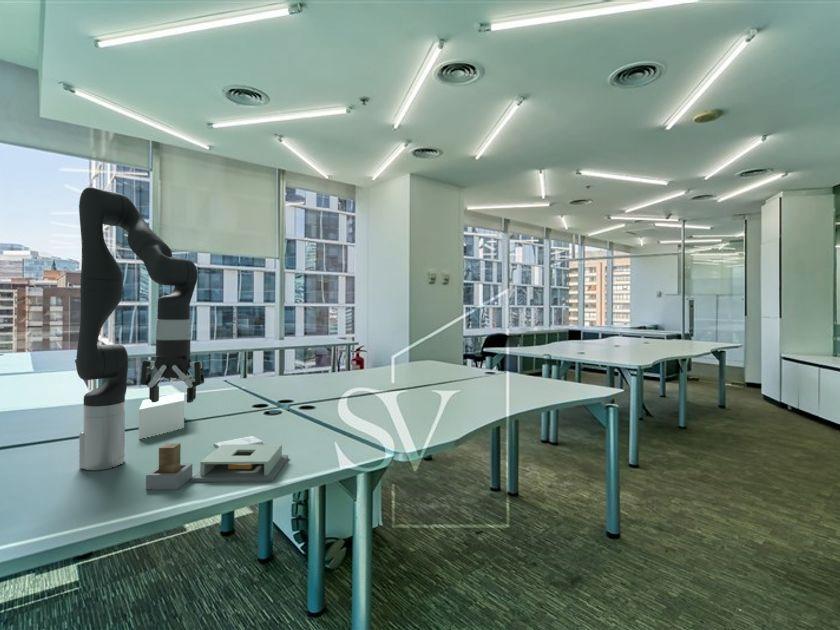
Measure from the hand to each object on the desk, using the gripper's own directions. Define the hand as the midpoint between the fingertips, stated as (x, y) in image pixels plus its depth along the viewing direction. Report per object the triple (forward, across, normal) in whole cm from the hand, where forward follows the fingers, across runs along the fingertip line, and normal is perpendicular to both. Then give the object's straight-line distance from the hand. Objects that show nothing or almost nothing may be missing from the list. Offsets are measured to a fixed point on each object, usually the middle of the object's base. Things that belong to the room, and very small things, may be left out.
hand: (172, 401), depth 108 cm
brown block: (+20, 0, -1) cm, 20 cm away
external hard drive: (+21, +6, +30) cm, 37 cm away
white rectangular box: (+21, -27, +49) cm, 60 cm away
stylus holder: (+20, 0, -1) cm, 20 cm away
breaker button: (+19, +15, +9) cm, 26 cm away
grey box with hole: (+20, +15, +8) cm, 27 cm away
